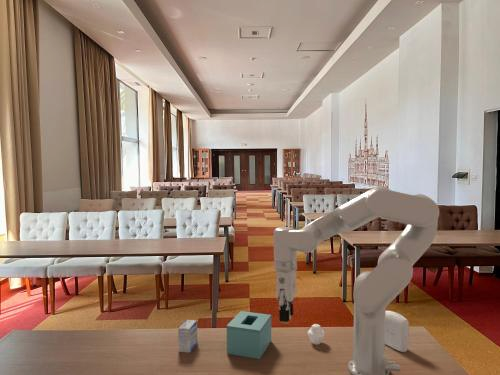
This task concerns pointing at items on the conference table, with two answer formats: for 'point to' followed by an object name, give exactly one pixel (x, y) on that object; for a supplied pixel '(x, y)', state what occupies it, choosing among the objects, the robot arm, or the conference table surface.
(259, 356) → the teal slotted box
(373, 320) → the robot arm
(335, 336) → the conference table surface
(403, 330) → the photo printer
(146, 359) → the conference table surface
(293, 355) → the conference table surface
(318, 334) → the white carved egg
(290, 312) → the tan wooden brick
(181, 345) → the medicine box
